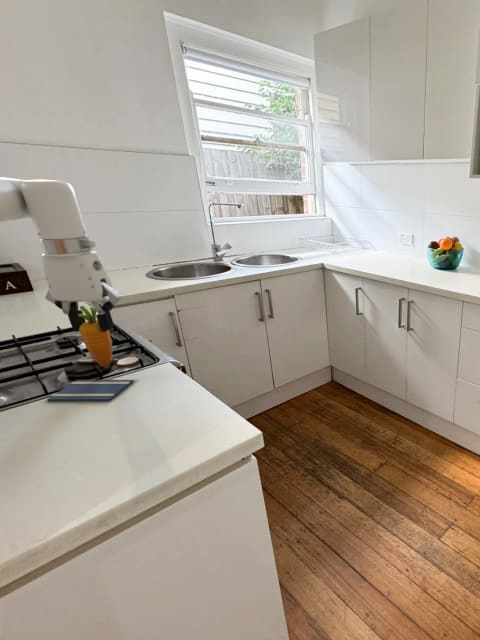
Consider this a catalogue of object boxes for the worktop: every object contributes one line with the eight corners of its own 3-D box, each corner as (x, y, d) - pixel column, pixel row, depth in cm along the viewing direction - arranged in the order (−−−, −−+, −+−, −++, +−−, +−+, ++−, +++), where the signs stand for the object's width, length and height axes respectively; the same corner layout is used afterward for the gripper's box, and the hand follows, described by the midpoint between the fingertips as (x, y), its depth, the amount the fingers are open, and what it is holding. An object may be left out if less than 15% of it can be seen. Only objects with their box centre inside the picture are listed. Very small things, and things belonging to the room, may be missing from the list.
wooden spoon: (72, 367, 90) (70, 363, 90) (85, 359, 94) (84, 355, 94) (132, 367, 91) (131, 363, 91) (143, 359, 95) (142, 355, 95)
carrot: (122, 368, 88) (103, 306, 82) (95, 375, 85) (73, 311, 79) (117, 361, 91) (98, 301, 85) (91, 367, 88) (70, 306, 82)
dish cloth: (47, 401, 77) (46, 398, 77) (77, 381, 84) (76, 379, 84) (109, 401, 78) (108, 398, 78) (133, 381, 85) (133, 379, 85)
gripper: (122, 244, 81) (144, 323, 88) (38, 242, 80) (66, 323, 87) (97, 250, 74) (123, 336, 81) (4, 248, 73) (39, 335, 80)
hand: (94, 328), depth 84 cm, fingers closed on carrot, 5 cm apart
